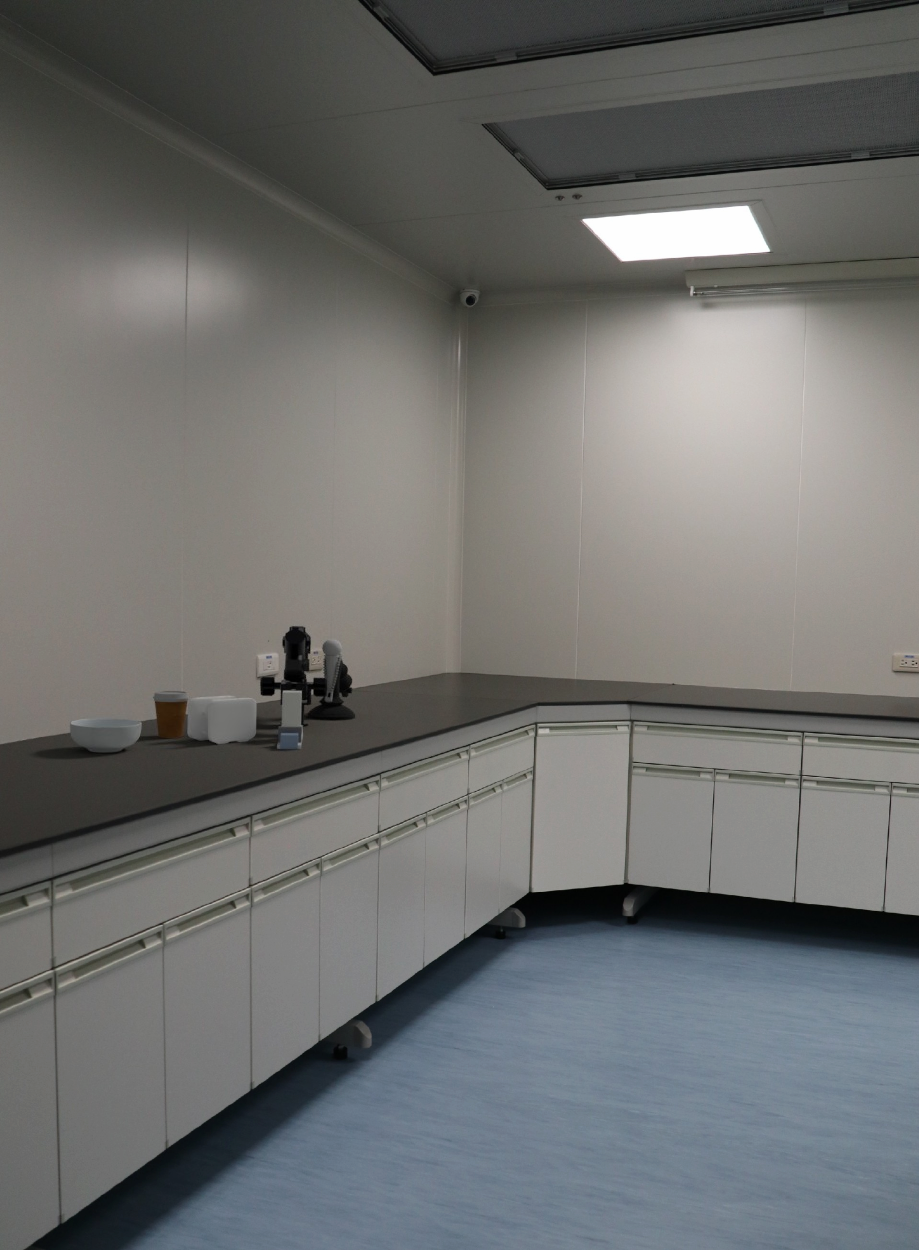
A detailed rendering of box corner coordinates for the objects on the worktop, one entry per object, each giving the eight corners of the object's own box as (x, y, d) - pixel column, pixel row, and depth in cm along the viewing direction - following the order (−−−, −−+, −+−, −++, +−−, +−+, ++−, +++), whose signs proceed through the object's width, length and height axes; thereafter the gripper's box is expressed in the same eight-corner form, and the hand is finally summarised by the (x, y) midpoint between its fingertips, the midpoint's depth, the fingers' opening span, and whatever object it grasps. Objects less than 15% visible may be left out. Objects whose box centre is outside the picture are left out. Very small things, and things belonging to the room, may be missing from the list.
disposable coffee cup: (167, 740, 277) (167, 695, 276) (145, 736, 283) (145, 692, 282) (196, 736, 284) (196, 692, 284) (173, 733, 290) (174, 689, 290)
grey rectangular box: (282, 733, 287) (283, 690, 286) (300, 733, 287) (301, 690, 287) (281, 735, 282) (282, 692, 281) (300, 735, 282) (301, 692, 282)
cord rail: (281, 735, 291) (281, 717, 291) (302, 735, 292) (303, 717, 292) (277, 749, 267) (277, 729, 267) (300, 749, 268) (301, 729, 268)
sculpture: (300, 719, 327) (302, 639, 326) (323, 710, 350) (324, 635, 349) (347, 721, 324) (349, 641, 323) (367, 712, 348) (369, 637, 347)
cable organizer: (208, 746, 270) (208, 701, 269) (185, 741, 277) (186, 697, 276) (256, 740, 280) (257, 697, 280) (233, 736, 288) (234, 694, 287)
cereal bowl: (106, 758, 248) (107, 728, 247) (54, 751, 255) (54, 722, 254) (155, 748, 263) (156, 720, 263) (105, 742, 270) (105, 715, 270)
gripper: (261, 648, 295) (257, 691, 284) (327, 649, 297) (327, 692, 287) (262, 673, 303) (259, 716, 292) (327, 674, 305) (326, 717, 295)
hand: (292, 709), depth 291 cm, fingers closed
